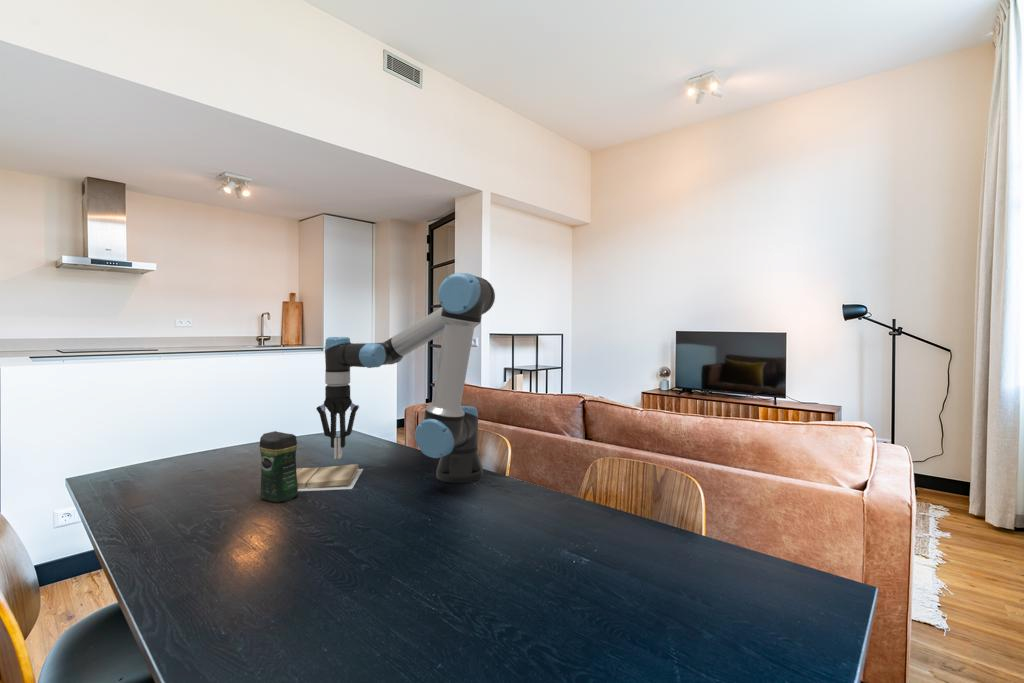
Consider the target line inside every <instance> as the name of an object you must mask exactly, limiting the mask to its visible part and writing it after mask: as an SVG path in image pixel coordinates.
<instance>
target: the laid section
mask: <svg viewBox="0 0 1024 683" xmlns="http://www.w3.org/2000/svg"><path fill="white" fill-rule="evenodd" d="M319 469H320V467H298V468H297V467H296V472H297V483H298V489H305V488H306V487H307V482H308V481H309V480H310V479H311V478H312V477H313V476H314V474H315V473H316V472H317V471H318V470H319Z"/></svg>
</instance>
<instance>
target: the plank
mask: <svg viewBox="0 0 1024 683" xmlns="http://www.w3.org/2000/svg"><path fill="white" fill-rule="evenodd" d="M358 469H359V464H358V463H355V464H345V465H343V464H342V465H334V466H321V467H319V470H318V471H317V472H316V473H315V474H314V476H313V477H312V478H311V479H310V480H309V481H308V482H307V488H317V487H328V486H338V485H349V484H350V482H351V480H352V479H353V477H354V475H355V474H356V472H357V470H358Z"/></svg>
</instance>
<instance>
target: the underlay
mask: <svg viewBox="0 0 1024 683" xmlns="http://www.w3.org/2000/svg"><path fill="white" fill-rule="evenodd" d="M363 471H364V468H358V470H357V472H356V474H355V475H354V477H353V479H352V480H351V482H350V484H349V485H338V486H328V487H317V488H307V487H306V488H305V489H298V492H310V491H311V492H314V491H316V492H317V491H333V490H334V491H335V490H337V491H338V490H352V489H353V488H354V486H355V484H356V483H357V481H358V479H359V477H360V476H361V474H362V472H363Z"/></svg>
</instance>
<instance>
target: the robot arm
mask: <svg viewBox="0 0 1024 683" xmlns="http://www.w3.org/2000/svg"><path fill="white" fill-rule="evenodd" d="M437 297H438V298H437V299H438V302H439V304H440V305H441V307H439V308H438V309H436V310H435V311H433V312H431V313H430V314H428V315H426V316H425V317H423V318H422V319H419V320H418V321H416V322H414V323H413V324H411V325H409V326H408V327H407V328H405V329H403V330H401V331H400V332H399V333H397V334H395V335H393V336H392V337H390V338H388V339H387V340H385V341H383V342H371V343H370V342H369V343H367V342H364V343H363V342H360V343H359V342H358V343H351V338H350V337H348V336H330V337H329V336H328V337H326V338H325V345H324V355H325V356H324V359H325V360H324V361H325V376H324V378H325V380H324V381H325V384H326V385H325V387H324V388H325V389H324V390H325V393H324V394H325V400H324V401H323V403H322V404H321V405H318V406H317V407H316V411H317V412H318V414H319V417H320V420H321V425H322V430H323V434H324V437H329V439H330V448H332V449H333V452H334V453H333V457H334V458H333V459H334V460H336V459H341V458H342V457H343V448H345V446H346V437H349V436H351V434H352V431H353V426H354V422H355V418H356V415H357V411H358V410H359V408H360V406H359V405H358V404H355V403H353V400H352V399H351V385H350V384H351V368H352V367H354V368H355V367H356V368H367V369H371V368H372V369H373V368H380V367H381V366H387V365H394V364H397V363H398V364H399V362H401V361H402V359H403V358H404V357H405V356H406V355H408V354H410V353H412V352H413V351H415V350H417V349H418V348H420V347H422V346H423V345H425V344H427V343H429V342H430V341H432V340H434V339H436V338H438V337H439V336H441V335H442V340H441V346H440V352H439V358H438V365H437V369H436V376H435V383H434V387H433V394H432V398H431V399H432V400H431V403H429V404H427V405H426V407H425V411H424V417H423V420H422V421H420V422H419V424H418V425H417V427H416V429H415V431H414V440H415V444H416V445H417V447H418V449H419V450H420V452H421V453H422V454H424V455H425V456H427V457H430V458H433V459H439V461H438V464H437V467H436V475H435V476H436V479H437V480H439V481H441V482H444V483H451V484H465V483H473V482H475V481H478V480H480V479H482V478H483V475H484V468H483V465H482V462H481V458H480V456H479V452H478V451H479V449H478V446H479V411H478V409H477V408H476V407H475V406H469V405H462V400H463V393H464V390H465V389H464V388H465V384H466V379H467V378H466V377H467V372H468V365H469V358H470V356H471V348H472V343H473V336H474V331H475V328H476V327H478V326H479V325H480V324H481V322H482V315H484V314H486V313H487V312H489V311H490V310H491V309H492V307H494V303H495V300H496V292H495V289H494V287H493V285H492V284H491V283H490V282H489V281H488V280H487V279H485V278H483V277H480V276H476V275H473V274H471V273H467V272H466V273H465V272H456V273H455V272H454V273H452V274H450V275H448V276H447V277H446V278H445V279H443V281H442V282H441V284H440V286H439V287H438V293H437ZM349 408H350V409H349ZM326 409H327V410H328V411H329V413H330V426H329V422H328V417H327V413H326ZM348 410H350V411H351V412H350V414H349V419H348V424H347V428H346V412H347V411H348ZM337 415H339V417H338V418H339V434H340V436H337Z"/></svg>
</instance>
